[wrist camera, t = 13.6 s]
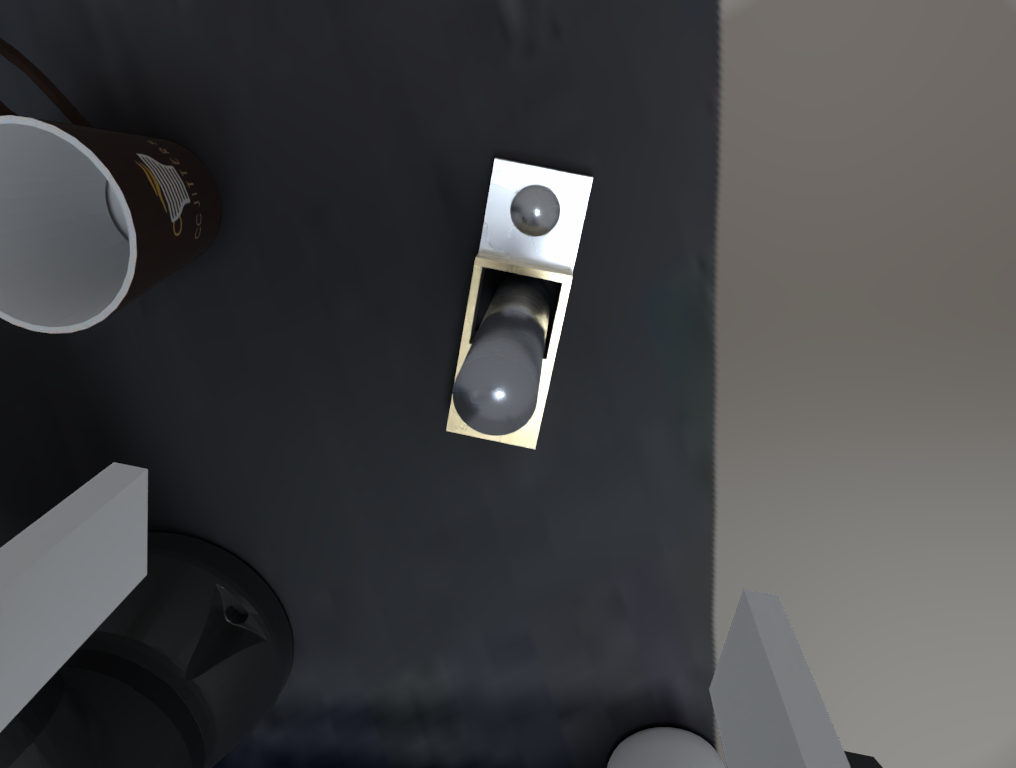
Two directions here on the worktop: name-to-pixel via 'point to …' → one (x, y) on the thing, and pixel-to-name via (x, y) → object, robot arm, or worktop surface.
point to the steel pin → (505, 359)
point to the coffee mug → (91, 214)
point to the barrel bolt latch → (527, 258)
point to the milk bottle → (665, 750)
